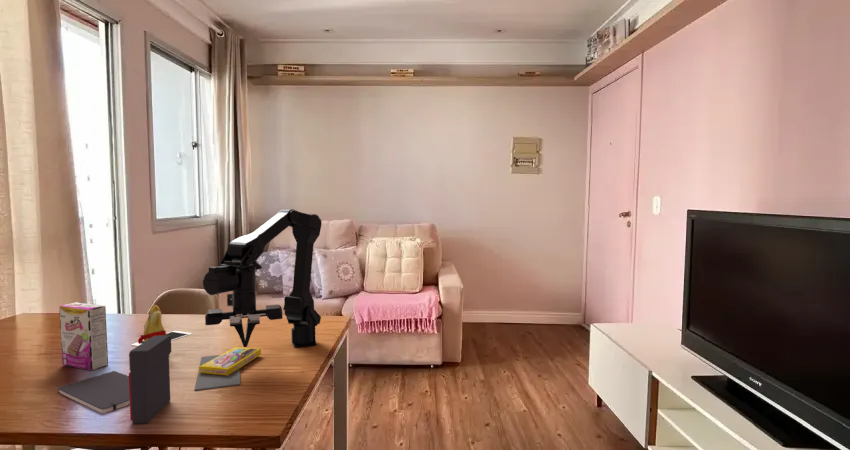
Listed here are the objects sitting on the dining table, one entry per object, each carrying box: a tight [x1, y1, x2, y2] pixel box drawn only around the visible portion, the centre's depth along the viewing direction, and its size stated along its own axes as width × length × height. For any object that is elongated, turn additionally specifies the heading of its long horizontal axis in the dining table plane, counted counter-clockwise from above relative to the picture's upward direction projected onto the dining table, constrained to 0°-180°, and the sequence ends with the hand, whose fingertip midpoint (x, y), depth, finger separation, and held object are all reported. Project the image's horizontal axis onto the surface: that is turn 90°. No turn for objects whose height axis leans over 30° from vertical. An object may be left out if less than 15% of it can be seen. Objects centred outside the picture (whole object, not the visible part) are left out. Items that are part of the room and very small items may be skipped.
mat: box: [193, 354, 241, 392], centre depth 129 cm, size 10×24×1 cm, turn 21°
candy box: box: [198, 346, 262, 376], centre depth 132 cm, size 16×2×8 cm
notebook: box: [57, 370, 130, 414], centre depth 115 cm, size 13×2×21 cm
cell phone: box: [130, 330, 193, 347], centre depth 155 cm, size 8×16×1 cm, turn 158°
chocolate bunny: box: [137, 304, 170, 358], centre depth 137 cm, size 7×11×15 cm, turn 45°
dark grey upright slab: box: [128, 335, 172, 425], centre depth 104 cm, size 11×4×15 cm, turn 5°
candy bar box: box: [58, 301, 109, 372], centre depth 131 cm, size 11×5×16 cm, turn 71°
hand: (245, 346), depth 130 cm, fingers closed
